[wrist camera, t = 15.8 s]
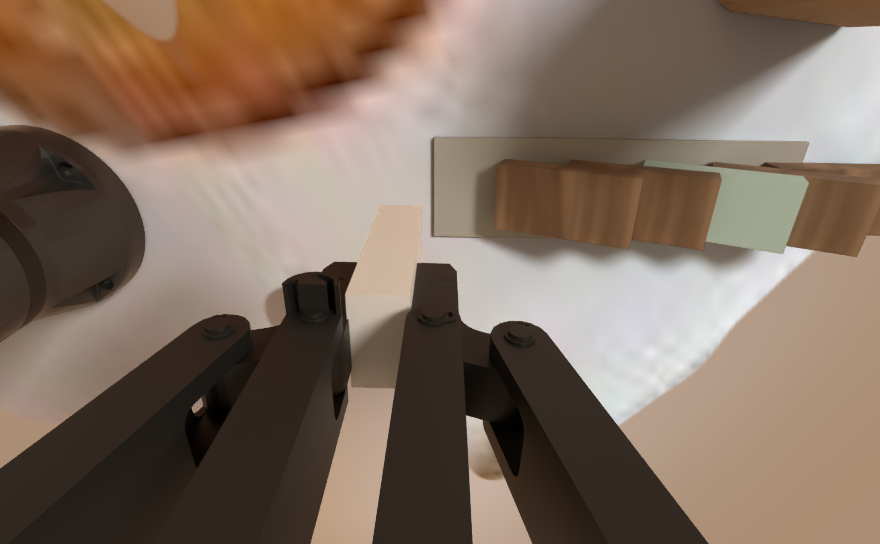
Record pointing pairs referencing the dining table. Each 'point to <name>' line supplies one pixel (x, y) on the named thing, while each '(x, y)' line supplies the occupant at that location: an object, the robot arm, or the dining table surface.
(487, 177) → the runner
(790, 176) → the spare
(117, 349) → the dining table surface
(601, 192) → the domino
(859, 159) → the dining table surface
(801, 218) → the domino
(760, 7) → the block
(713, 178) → the domino
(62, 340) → the dining table surface
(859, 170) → the domino
